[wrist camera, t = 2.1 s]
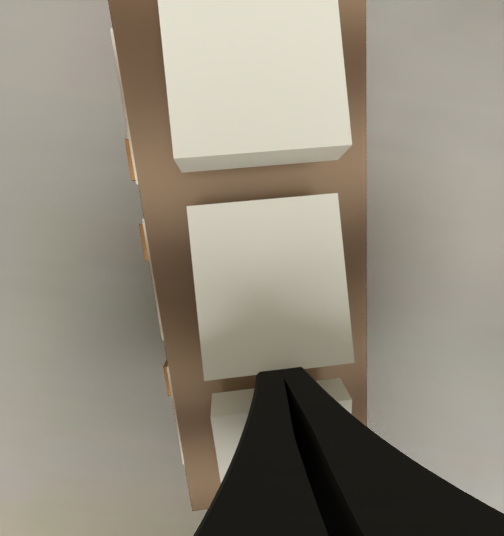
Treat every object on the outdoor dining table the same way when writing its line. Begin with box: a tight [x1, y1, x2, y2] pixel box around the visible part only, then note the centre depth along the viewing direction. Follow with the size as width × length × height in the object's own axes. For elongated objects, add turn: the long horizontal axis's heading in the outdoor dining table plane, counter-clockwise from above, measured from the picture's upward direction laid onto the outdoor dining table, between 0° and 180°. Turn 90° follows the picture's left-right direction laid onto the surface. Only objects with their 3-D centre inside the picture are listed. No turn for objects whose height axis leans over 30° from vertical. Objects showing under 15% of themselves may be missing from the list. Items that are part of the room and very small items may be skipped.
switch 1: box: [158, 0, 352, 173], centre depth 7 cm, size 5×4×1 cm
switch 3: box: [210, 378, 352, 483], centre depth 10 cm, size 5×4×1 cm
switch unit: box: [108, 0, 367, 511], centre depth 12 cm, size 21×8×4 cm, turn 5°
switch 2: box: [186, 193, 355, 381], centre depth 9 cm, size 5×4×1 cm
